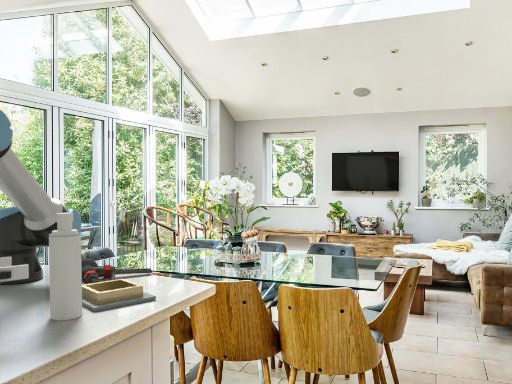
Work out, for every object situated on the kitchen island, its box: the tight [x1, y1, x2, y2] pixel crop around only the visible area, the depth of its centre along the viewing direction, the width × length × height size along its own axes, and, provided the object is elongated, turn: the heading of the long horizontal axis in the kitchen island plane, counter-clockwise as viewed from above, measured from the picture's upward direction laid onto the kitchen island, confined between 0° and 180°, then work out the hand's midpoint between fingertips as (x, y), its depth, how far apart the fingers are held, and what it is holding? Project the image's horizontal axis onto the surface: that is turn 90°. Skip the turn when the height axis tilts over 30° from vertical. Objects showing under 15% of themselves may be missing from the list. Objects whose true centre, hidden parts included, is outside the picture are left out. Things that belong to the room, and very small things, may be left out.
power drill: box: [81, 258, 153, 284], centre depth 144 cm, size 6×26×15 cm
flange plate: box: [82, 278, 157, 313], centre depth 119 cm, size 18×16×4 cm
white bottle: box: [48, 213, 83, 322], centre depth 103 cm, size 7×7×25 cm
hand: (19, 266), depth 97 cm, fingers open, 13 cm apart
